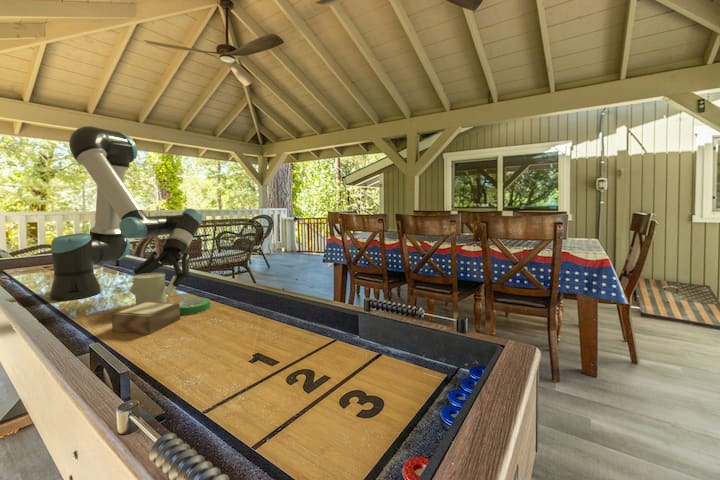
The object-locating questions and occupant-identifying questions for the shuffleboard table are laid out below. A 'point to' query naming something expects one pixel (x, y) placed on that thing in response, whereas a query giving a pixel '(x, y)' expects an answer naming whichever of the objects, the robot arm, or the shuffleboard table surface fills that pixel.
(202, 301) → the tape roll
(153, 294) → the can
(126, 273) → the shuffleboard table surface
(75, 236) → the robot arm
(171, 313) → the plinth
